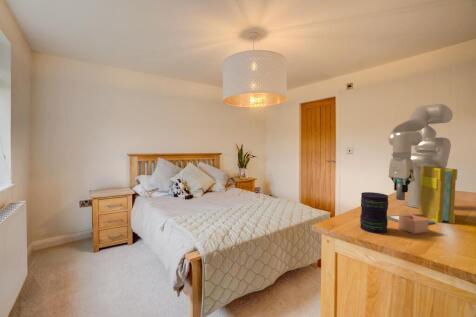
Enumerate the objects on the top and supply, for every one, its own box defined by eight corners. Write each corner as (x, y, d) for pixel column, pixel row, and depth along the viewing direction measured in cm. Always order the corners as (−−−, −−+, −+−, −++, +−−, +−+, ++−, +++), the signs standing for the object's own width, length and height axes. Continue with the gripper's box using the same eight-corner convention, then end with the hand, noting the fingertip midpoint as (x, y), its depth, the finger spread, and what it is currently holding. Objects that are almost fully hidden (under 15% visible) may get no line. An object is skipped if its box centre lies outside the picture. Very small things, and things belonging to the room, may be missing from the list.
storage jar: (355, 228, 94) (356, 193, 93) (366, 223, 100) (367, 191, 99) (381, 236, 86) (382, 198, 85) (391, 230, 92) (392, 195, 91)
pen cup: (410, 226, 96) (411, 214, 95) (427, 232, 89) (428, 219, 89) (398, 228, 94) (398, 215, 94) (414, 234, 87) (415, 220, 87)
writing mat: (408, 215, 112) (408, 213, 112) (434, 223, 100) (435, 221, 100) (385, 217, 108) (385, 215, 108) (409, 226, 96) (409, 224, 96)
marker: (399, 198, 116) (400, 175, 115) (406, 200, 113) (407, 177, 112) (394, 198, 115) (394, 176, 115) (401, 200, 112) (401, 177, 111)
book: (454, 223, 100) (457, 169, 99) (437, 222, 101) (440, 168, 100) (430, 212, 117) (432, 166, 115) (415, 211, 118) (417, 165, 117)
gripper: (381, 155, 119) (380, 188, 121) (412, 157, 103) (411, 195, 105) (392, 155, 121) (391, 187, 123) (424, 156, 105) (423, 194, 107)
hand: (400, 190), depth 114 cm, fingers closed on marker, 3 cm apart
